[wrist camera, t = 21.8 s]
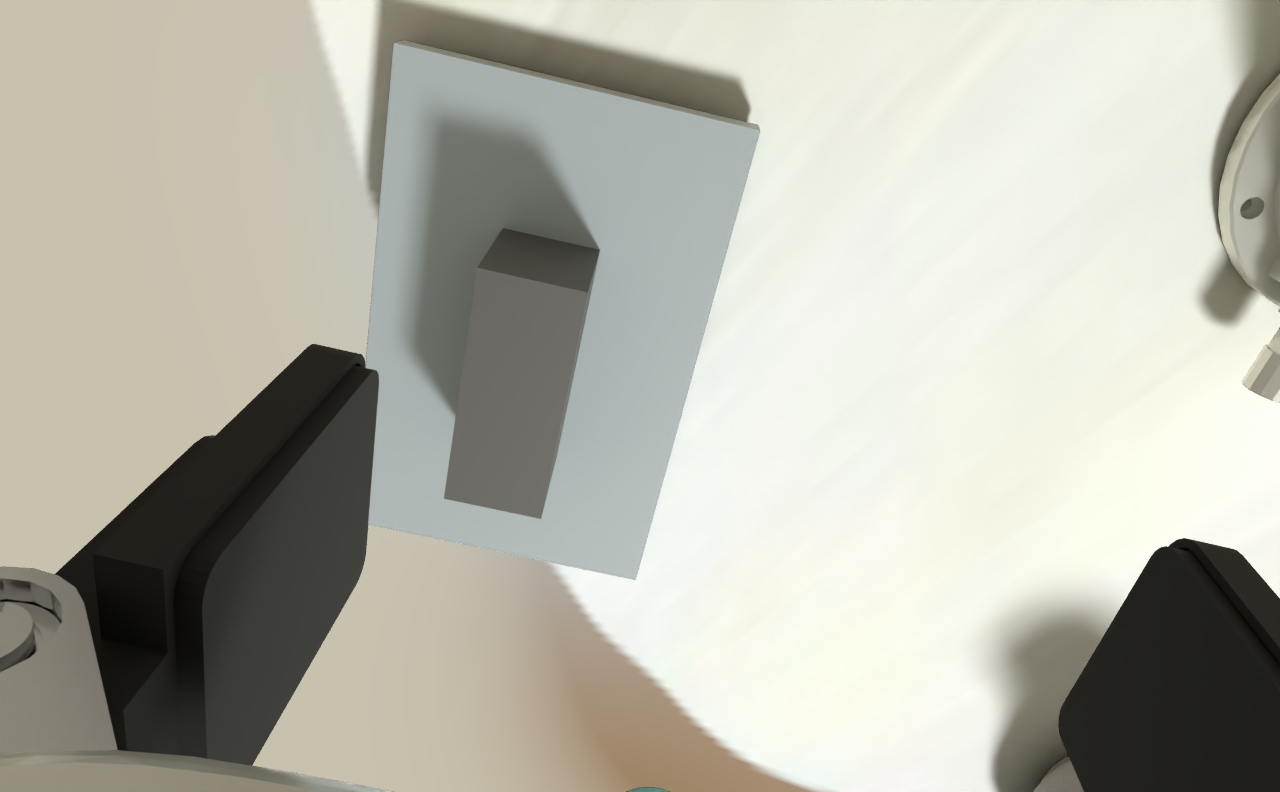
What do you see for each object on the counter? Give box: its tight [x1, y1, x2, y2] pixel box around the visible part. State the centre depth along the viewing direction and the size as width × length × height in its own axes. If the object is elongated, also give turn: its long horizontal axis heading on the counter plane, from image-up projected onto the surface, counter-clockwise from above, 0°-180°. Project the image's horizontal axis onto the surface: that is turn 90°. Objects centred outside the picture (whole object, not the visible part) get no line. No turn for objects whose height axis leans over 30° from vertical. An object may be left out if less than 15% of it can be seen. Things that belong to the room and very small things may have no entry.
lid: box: [365, 40, 760, 580], centre depth 37 cm, size 22×14×7 cm, turn 167°
